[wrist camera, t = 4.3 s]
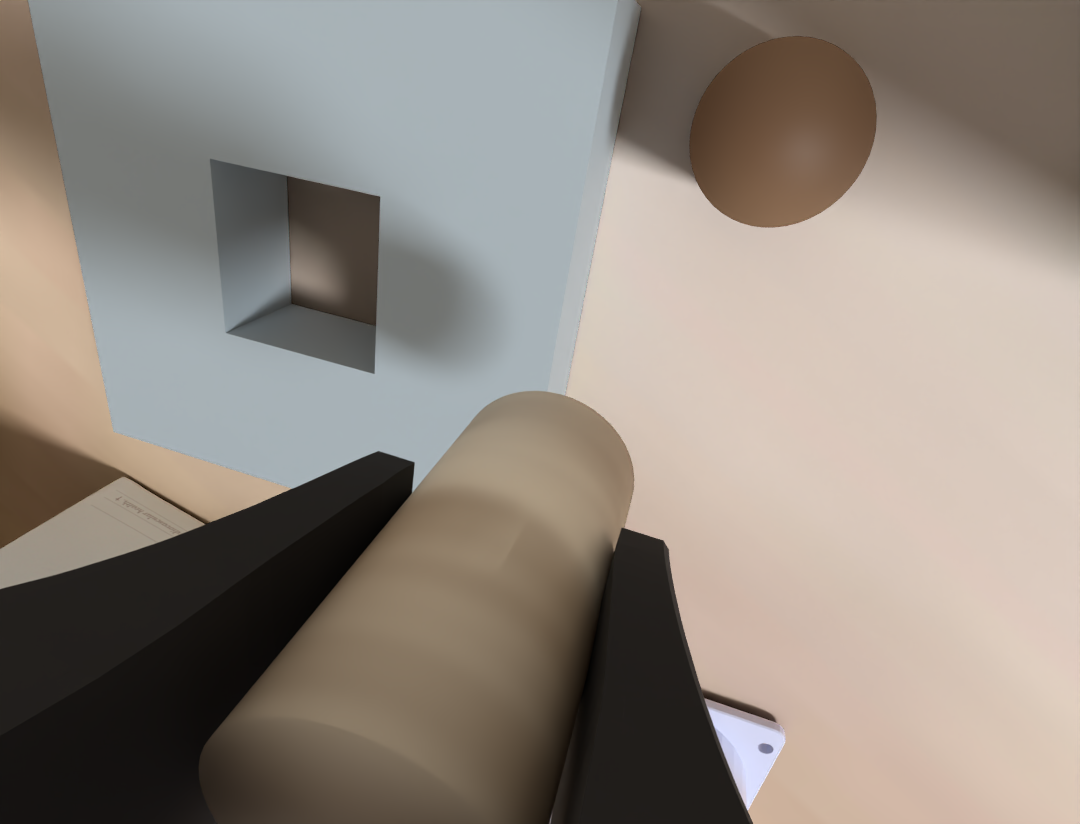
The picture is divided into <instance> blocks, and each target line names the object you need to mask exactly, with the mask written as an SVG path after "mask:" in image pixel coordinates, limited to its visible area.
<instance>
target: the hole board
mask: <svg viewBox="0 0 1080 824" xmlns="http://www.w3.org/2000/svg"><path fill="white" fill-rule="evenodd" d="M28 4H29V9H30V14H31V19H32V24H33V29H34V34H35V39H36V44H37V49H38V54H39V59H40V64H41V69H42V74H43V79H44V84H45V89H46V94H47V99H48V104H49V109H50V114H51V119H52V124H53V129H54V134H55V140H56V145H57V150H58V155H59V160H60V165H61V170H62V175H63V180H64V185H65V190H66V195H67V200H68V205H69V210H70V215H71V220H72V225H73V230H74V235H75V240H76V245H77V250H78V255H79V260H80V265H81V270H82V275H83V280H84V285H85V290H86V295H87V300H88V305H89V310H90V315H91V320H92V325H93V330H94V335H95V341H96V346H97V351H98V356H99V361H100V366H101V371H102V376H103V381H104V386H105V391H106V396H107V401H108V406H109V411H110V416H111V421H112V426H113V431H114V432H116V433H119V434H122V435H125V436H128V437H132V438H135V439H138V440H141V441H144V442H147V443H150V444H154V445H157V446H160V447H163V448H166V449H169V450H173V451H176V452H179V453H182V454H185V455H188V456H191V457H195V458H198V459H201V460H204V461H207V462H210V463H213V464H217V465H220V466H223V467H226V468H229V469H232V470H236V471H239V472H242V473H245V474H248V475H251V476H254V477H258V478H261V479H264V480H267V481H270V482H273V483H276V484H280V485H283V486H286V487H289V488H292V489H293V488H295V487H297V486H300V485H302V484H304V483H307V482H309V481H311V480H313V479H315V478H318V477H320V476H322V475H324V474H326V473H329V472H331V471H333V470H335V469H337V468H340V467H342V466H344V465H346V464H349V463H351V462H353V461H355V460H358V459H360V458H362V457H365V456H367V455H370V454H372V453H375V452H377V451H380V452H384V453H387V454H390V455H393V456H396V457H399V458H403V459H406V460H409V461H412V462H415V466H414V477H413V488H412V493H413V491H414V490H415V489H416V488H417V486H418V485H419V484H420V483H421V482H422V480H423V479H424V478H425V477H426V476H427V474H428V473H429V472H430V471H431V470H432V468H433V467H434V466H435V465H436V463H437V462H438V461H439V460H440V459H441V457H442V456H443V455H444V454H445V453H446V451H447V450H448V449H449V448H450V447H451V445H452V444H453V443H454V442H455V440H456V439H457V438H458V437H459V436H460V434H461V433H462V432H463V431H464V430H465V428H466V427H467V426H468V425H469V424H470V422H471V421H472V420H473V419H474V417H475V416H476V415H477V414H478V413H479V412H480V411H481V410H482V409H483V408H484V407H486V406H487V405H488V404H490V403H491V402H493V401H495V400H497V399H499V398H501V397H503V396H506V395H509V394H512V393H517V392H523V391H545V392H552V393H557V394H561V395H564V396H565V393H566V388H567V383H568V378H569V373H570V368H571V363H572V358H573V352H574V347H575V342H576V337H577V332H578V327H579V322H580V317H581V312H582V307H583V302H584V297H585V292H586V286H587V281H588V276H589V271H590V266H591V261H592V256H593V251H594V246H595V241H596V236H597V231H598V225H599V220H600V215H601V210H602V205H603V200H604V195H605V190H606V185H607V180H608V175H609V170H610V164H611V159H612V154H613V149H614V144H615V139H616V134H617V129H618V124H619V119H620V114H621V109H622V104H623V98H624V93H625V88H626V83H627V78H628V73H629V68H630V63H631V58H632V53H633V48H634V43H635V37H636V32H637V27H638V22H639V17H640V12H641V6H640V5H639V4H638V3H637V2H636V1H635V0H28ZM287 176H290V177H295V178H299V179H304V180H308V181H313V182H317V183H322V184H326V185H331V186H335V187H340V188H344V189H349V190H353V191H358V192H362V193H367V194H371V195H376V196H380V221H379V253H378V284H377V315H376V326H374V325H370V324H367V323H363V322H359V321H355V320H351V319H347V318H344V317H340V316H336V315H332V314H328V313H324V312H321V311H317V310H313V309H309V308H305V307H302V306H298V305H294V304H292V303H291V276H290V248H289V221H288V193H287Z"/></svg>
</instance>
